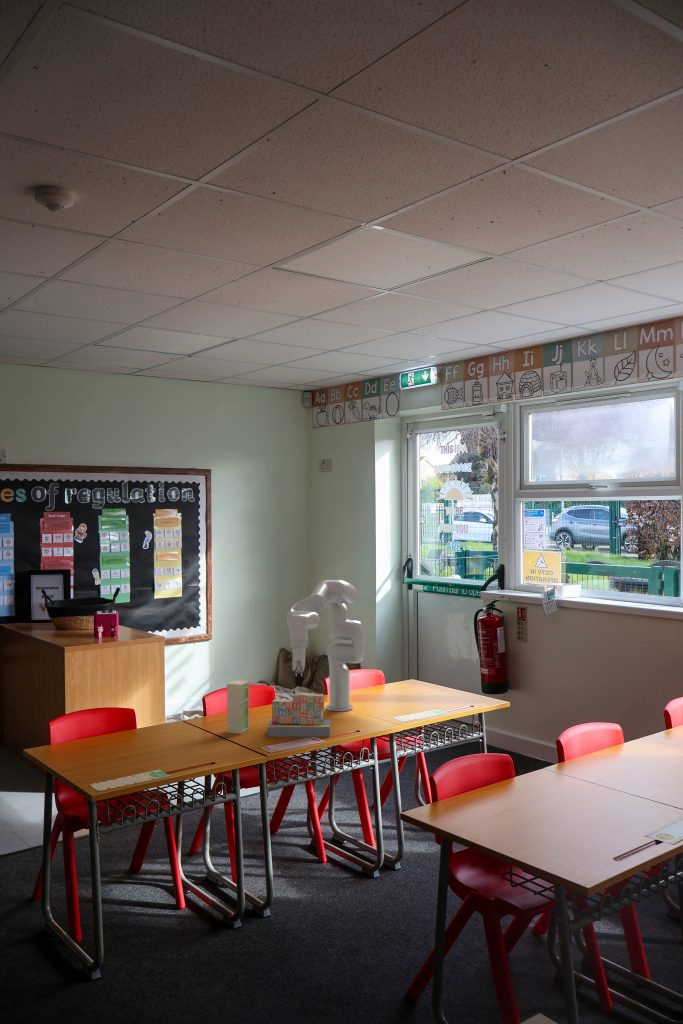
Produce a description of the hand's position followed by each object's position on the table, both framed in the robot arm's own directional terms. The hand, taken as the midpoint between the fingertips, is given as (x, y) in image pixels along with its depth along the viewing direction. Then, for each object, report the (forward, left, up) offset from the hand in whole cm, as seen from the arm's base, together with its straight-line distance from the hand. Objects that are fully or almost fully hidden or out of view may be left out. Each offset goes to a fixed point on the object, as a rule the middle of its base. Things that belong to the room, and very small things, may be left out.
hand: (299, 683), depth 363 cm
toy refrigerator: (-3, -26, -21) cm, 34 cm away
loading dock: (0, 0, -21) cm, 21 cm away
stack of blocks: (0, -1, -17) cm, 17 cm away
